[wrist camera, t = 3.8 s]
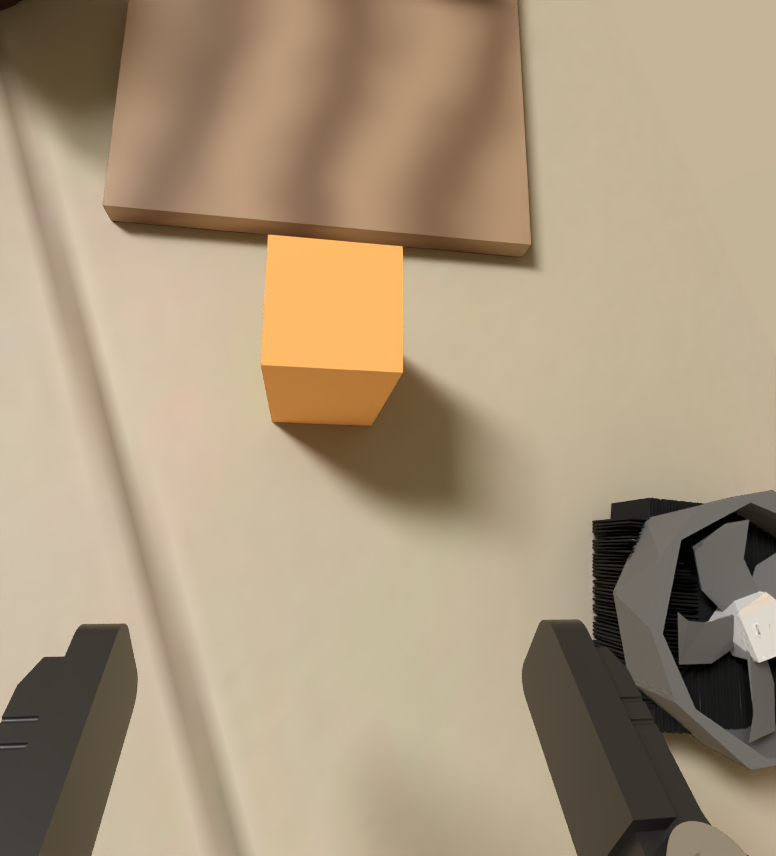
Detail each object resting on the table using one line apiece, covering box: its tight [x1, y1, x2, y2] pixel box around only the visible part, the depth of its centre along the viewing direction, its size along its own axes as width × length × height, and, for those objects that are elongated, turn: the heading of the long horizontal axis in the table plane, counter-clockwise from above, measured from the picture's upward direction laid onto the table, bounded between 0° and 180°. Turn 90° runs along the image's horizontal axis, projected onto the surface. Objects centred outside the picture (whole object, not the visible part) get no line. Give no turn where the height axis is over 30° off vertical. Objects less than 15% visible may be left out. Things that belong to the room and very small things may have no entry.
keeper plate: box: [103, 0, 531, 257], centre depth 27 cm, size 20×18×5 cm
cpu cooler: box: [592, 490, 776, 770], centre depth 24 cm, size 10×6×10 cm
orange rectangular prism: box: [261, 235, 403, 426], centre depth 22 cm, size 4×4×8 cm
